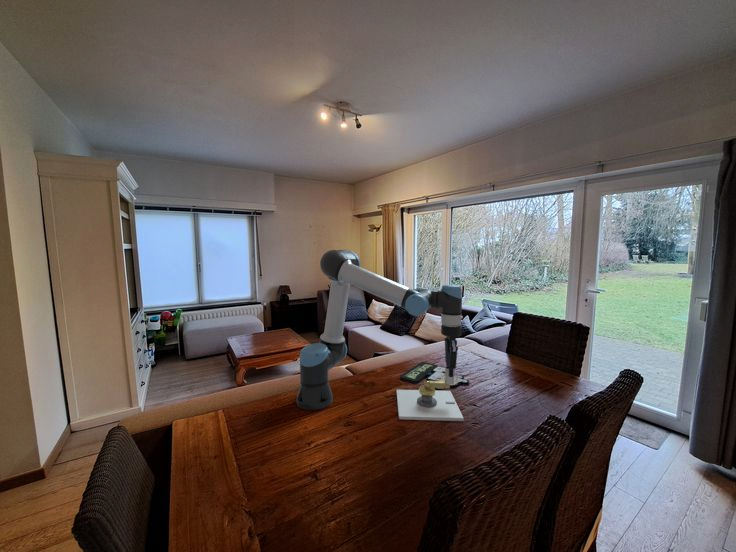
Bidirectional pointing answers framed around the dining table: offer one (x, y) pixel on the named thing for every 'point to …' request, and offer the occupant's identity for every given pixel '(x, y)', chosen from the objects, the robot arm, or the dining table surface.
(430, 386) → the brass lever knob
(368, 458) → the dining table surface
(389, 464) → the dining table surface
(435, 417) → the post board
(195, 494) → the dining table surface
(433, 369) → the sign
